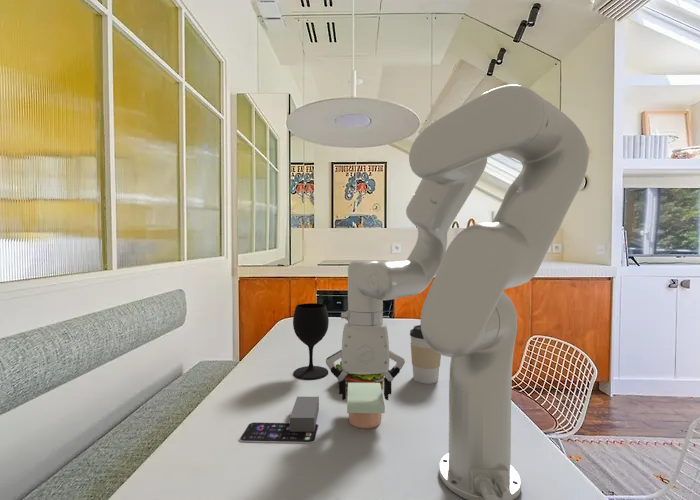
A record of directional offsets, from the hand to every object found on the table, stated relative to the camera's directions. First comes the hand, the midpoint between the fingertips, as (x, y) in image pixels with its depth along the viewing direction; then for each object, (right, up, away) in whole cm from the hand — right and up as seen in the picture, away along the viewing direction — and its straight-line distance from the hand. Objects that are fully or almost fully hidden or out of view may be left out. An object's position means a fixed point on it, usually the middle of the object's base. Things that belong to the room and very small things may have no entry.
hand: (365, 397), depth 78 cm
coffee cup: (+18, -5, +24) cm, 30 cm away
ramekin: (0, -5, 0) cm, 5 cm away
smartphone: (-17, -6, -5) cm, 19 cm away
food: (0, -5, +20) cm, 21 cm away
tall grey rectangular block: (-13, -5, 0) cm, 14 cm away
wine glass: (-15, -5, +28) cm, 32 cm away
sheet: (0, -1, 0) cm, 1 cm away
